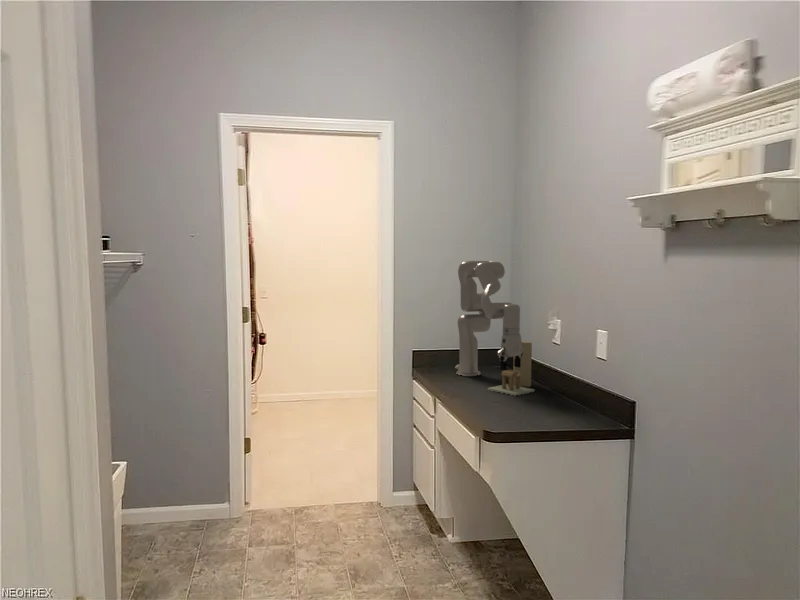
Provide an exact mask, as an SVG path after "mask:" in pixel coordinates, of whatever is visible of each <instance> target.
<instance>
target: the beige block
mask: <svg viewBox="0 0 800 600" xmlns="http://www.w3.org/2000/svg"><path fill="white" fill-rule="evenodd" d="M521 341H522V348H524V351H523V355H522V356H521V357H522V358H521V367H520V368H519V367H515V366H514V362H513V366H512V367H513V369H512V370H515V371H520V387H525V388H530V387H532V355H533V353H532V352H533V351H532V349H533V347H532V346H533V343H532V342H531V341H530V340H521ZM514 358H515V357H513V359H514ZM514 385H515V386H516V377H514Z"/></svg>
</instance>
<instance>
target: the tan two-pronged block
mask: <svg viewBox="0 0 800 600" xmlns="http://www.w3.org/2000/svg"><path fill="white" fill-rule="evenodd" d="M507 377H508V380H507ZM514 377H516V389H520V387H521V386H520V371H515V370H513V369H507V370H502V371H501V379H502V382H501V385H502V389H506V384H508V387H510V390H514ZM507 381H508V383H507Z"/></svg>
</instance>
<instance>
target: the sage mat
mask: <svg viewBox="0 0 800 600" xmlns="http://www.w3.org/2000/svg"><path fill="white" fill-rule="evenodd" d="M489 390H490V391H489ZM487 391H489V392H494V391H495V393H498V392H500V393H499V394H503V393H505V394H504V395H507V394H510V395H509V396H512V395H514V396H513V397H517V396H516V395H518V396H521V394H522V395H525V394H530V392H531V393H534V391H535V389H534V388H530V387H525V386H520V389H516V386H515V385H514V390H510V387H508V383H506V389H502V384H501V385H495V386H489V387H487Z"/></svg>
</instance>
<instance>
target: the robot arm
mask: <svg viewBox="0 0 800 600" xmlns="http://www.w3.org/2000/svg"><path fill="white" fill-rule="evenodd" d="M505 271H506V270H505V266H504V265H503V264H502V262H500V261H493V260H492V261H491V260H467V261H463V262H461V263H460V264H459V266H458V269H457V274H458V280H459V284H460V308H461V310H462V312H467V313H469V312H470V313H469V314H462V315H459V317H458V318H457V329H458V337H459V338H458V339H459V344H458V345H459V348H458V349H459V355H458V356H459V360H458V361H459V364H456V365H455V366H454V368H455V369H457V371H456V375H457V374H458V375H457V376H460V375H462V376H461V377H476V376H477V375H478V376H480V375H481V371H479V369H478V368H479V367H478V363H479V362H478V360H479V358H478V357H479V353H478V350H479V349H478V348H479V347H478V346H479V344H478V343H479V341H478V339H477V337H476V335H475V334H474V333H483V332H488V331H489V330H490V329H491V323H492V320H500V319H502V334H501V335H502V336H501V342H500V349H499V350H498V351H497V352H496V353H497V356H498V360H499V362H500V370H502V371H506V370H508V367H507V366H508V361H507V359H508V358H513V363H514V366H515V367H519V368H520V367H521V358H522V357H521V356H522V355H523V351H524V348H522V341H523V340H522V335H521V334H520V333H521V332H520V331H521V330H520V327H521V326H520V323H521V320H520V319H521V307H520V305H519V304H514V303H511V302H491V299H490V296H491V297H492V296H493V295H495V294H496V293H498V292H499V291H500V289H501V287H502V286H501V282H500V281H499V279H502V278H504V276H505V274H506V272H505ZM474 278H478V279H477V280H478V281H479V283H480V285H481V287H482V289H483V291H482V293H480V292H479V293H478V285H477V283H476V281H475V279H474ZM472 312H473V313H472ZM474 312H475V313H474ZM477 312H478V313H477ZM514 357H515V358H514ZM478 376H477V377H478Z"/></svg>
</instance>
